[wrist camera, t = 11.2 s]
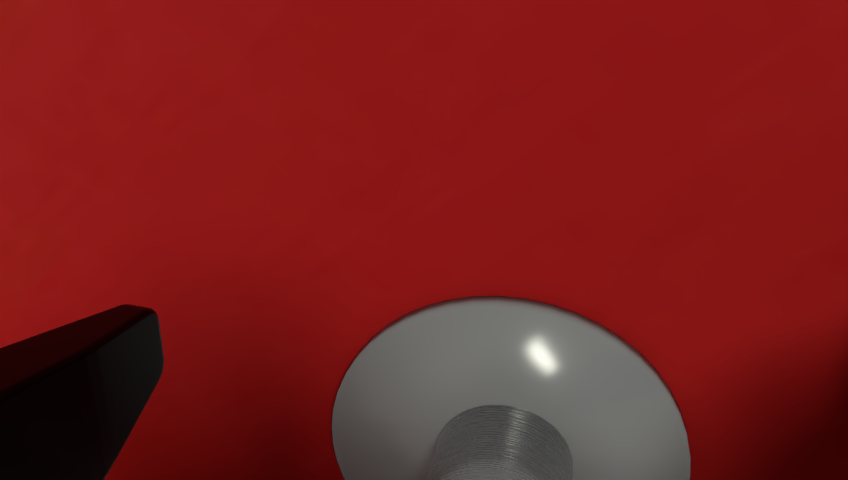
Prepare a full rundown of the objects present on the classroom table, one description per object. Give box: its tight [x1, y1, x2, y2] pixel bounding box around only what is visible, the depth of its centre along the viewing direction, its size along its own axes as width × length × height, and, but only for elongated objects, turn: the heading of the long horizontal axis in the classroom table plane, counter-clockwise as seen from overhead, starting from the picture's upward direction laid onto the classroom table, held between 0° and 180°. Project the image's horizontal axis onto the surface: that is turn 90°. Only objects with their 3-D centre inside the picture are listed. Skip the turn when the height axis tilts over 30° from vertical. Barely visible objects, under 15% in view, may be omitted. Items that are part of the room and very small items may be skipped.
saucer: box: [332, 296, 691, 480], centre depth 25 cm, size 12×12×1 cm
